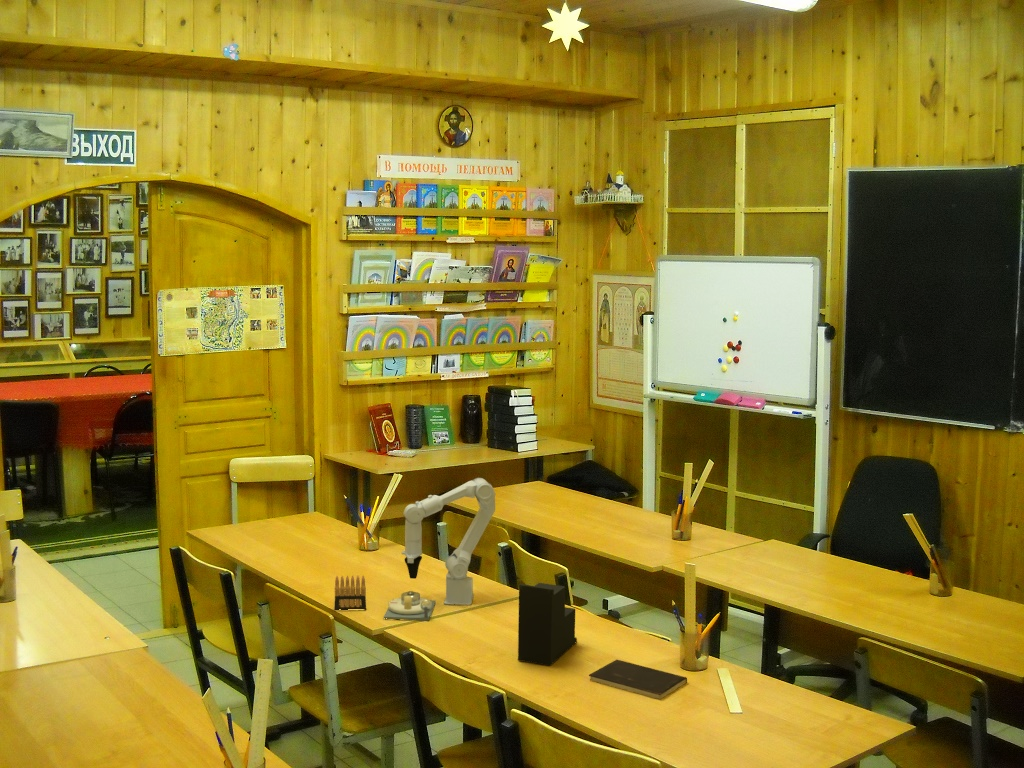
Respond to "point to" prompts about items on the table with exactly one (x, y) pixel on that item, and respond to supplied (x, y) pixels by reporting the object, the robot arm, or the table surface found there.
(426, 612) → the dial gauge
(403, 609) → the turntable
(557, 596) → the bookend
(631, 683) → the hardcover book
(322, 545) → the table surface
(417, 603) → the cover
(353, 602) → the ammunition clip
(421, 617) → the base plate
